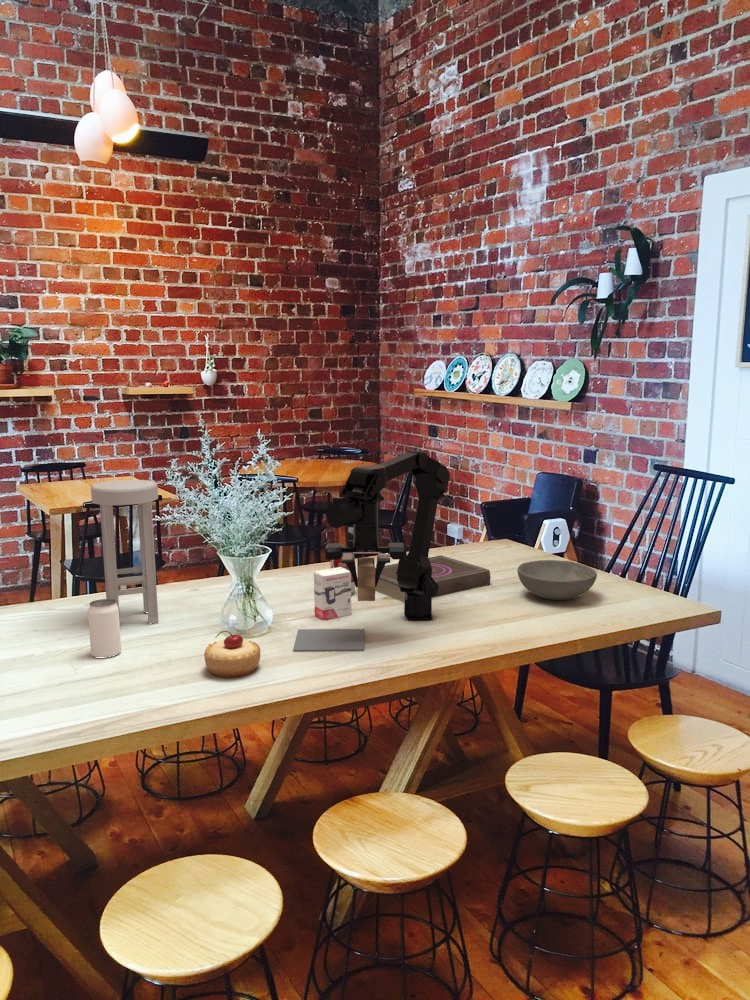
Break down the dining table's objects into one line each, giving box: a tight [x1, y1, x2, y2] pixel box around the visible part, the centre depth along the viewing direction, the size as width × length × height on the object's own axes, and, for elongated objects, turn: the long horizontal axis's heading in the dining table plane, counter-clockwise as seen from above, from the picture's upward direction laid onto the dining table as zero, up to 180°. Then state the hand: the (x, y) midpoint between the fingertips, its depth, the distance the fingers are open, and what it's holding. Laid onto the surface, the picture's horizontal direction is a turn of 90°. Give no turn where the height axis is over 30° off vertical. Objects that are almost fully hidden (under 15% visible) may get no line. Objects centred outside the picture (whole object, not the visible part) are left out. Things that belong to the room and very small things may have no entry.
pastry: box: [203, 630, 261, 678], centre depth 169 cm, size 12×12×9 cm
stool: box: [90, 479, 159, 624], centre depth 200 cm, size 16×16×35 cm
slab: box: [356, 557, 376, 602], centre depth 186 cm, size 4×9×8 cm, turn 1°
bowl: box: [517, 559, 598, 601], centre depth 219 cm, size 21×21×8 cm
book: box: [375, 555, 491, 603], centre depth 232 cm, size 30×22×5 cm
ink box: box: [313, 567, 352, 621], centre depth 204 cm, size 8×5×12 cm, turn 123°
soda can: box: [329, 557, 356, 595], centre depth 223 cm, size 7×7×12 cm
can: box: [87, 598, 122, 658], centre depth 178 cm, size 6×6×12 cm
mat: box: [292, 628, 365, 653], centre depth 186 cm, size 16×14×1 cm
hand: (366, 586), depth 187 cm, fingers closed on slab, 4 cm apart
